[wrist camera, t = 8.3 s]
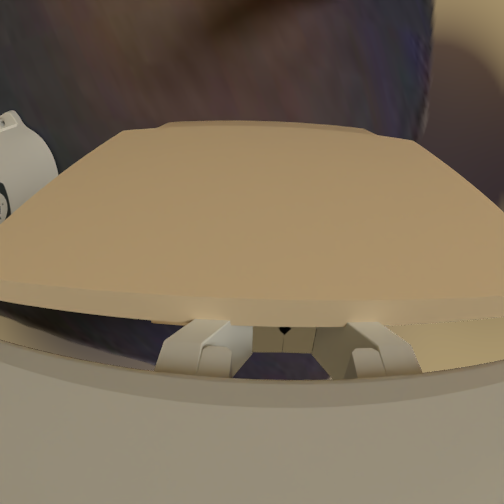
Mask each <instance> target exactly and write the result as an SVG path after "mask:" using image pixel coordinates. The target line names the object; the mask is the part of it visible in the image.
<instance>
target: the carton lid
mask: <svg viewBox="0 0 504 504" xmlns="http://www.w3.org/2000/svg"><path fill="white" fill-rule="evenodd" d="M0 301H6V302H11V303H17V304H23V305H30V306H36V307H42V308H49V309H56V310H63V311H71V312H78V313H86V314H95V315H103V316H113V317H122V318H132V319H143V320H155V321H167V322H181V323H190V322H191V321H193V320H194V319H208V320H228V321H230V323H231V325H236V326H266V327H345V326H346V324H347V323H348V322H379V323H381V324H382V325H384V326H390V325H412V324H428V323H443V322H456V321H468V320H479V319H488V318H497V317H504V212H503V211H502V210H501V209H499V208H498V207H497V206H496V205H495V204H494V203H493V202H491V200H489V199H488V198H487V197H486V196H485V195H484V194H482V193H481V192H480V191H479V190H478V189H476V188H475V187H474V186H473V185H472V184H470V183H469V182H468V181H467V180H465V179H464V178H463V177H462V176H460V175H459V174H458V173H457V172H455V171H454V170H453V169H451V168H450V167H449V166H447V165H446V164H445V163H444V162H442V161H441V160H439V159H438V158H437V157H435V156H434V155H432V154H431V153H430V152H428V151H427V150H426V149H424V148H423V147H421V146H420V145H419V144H417V143H416V142H414V141H412V140H405V139H399V138H392V137H385V136H378V135H370V134H362V133H353V132H343V131H333V130H321V129H307V128H291V127H268V126H190V127H167V128H151V129H137V130H126V131H122V132H120V133H119V134H117V135H116V136H114V137H113V138H111V139H109V140H108V141H106V142H105V143H103V144H102V145H100V146H99V147H97V148H96V149H94V150H93V151H92V152H90V153H89V154H87V155H86V156H84V157H83V158H82V159H80V160H79V161H77V162H76V163H75V164H73V165H72V166H70V167H69V168H68V169H66V170H65V171H64V172H62V173H61V174H60V175H58V176H57V177H56V178H55V179H53V180H52V181H51V182H49V183H48V184H47V185H46V186H44V187H43V188H42V189H41V190H39V191H38V192H37V193H36V194H34V195H33V196H32V197H31V198H30V199H28V200H27V201H26V202H25V203H24V204H23V205H21V206H20V207H19V208H18V209H17V210H16V211H15V212H13V213H12V214H11V215H10V216H9V217H8V218H7V219H6V220H5V221H3V222H2V223H1V224H0Z"/></svg>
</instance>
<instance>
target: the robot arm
mask: <svg viewBox="0 0 504 504" xmlns="http://www.w3.org/2000/svg"><path fill="white" fill-rule="evenodd" d="M4 122H5V125H4ZM57 176H58V171H57V167H56V163H55V160H54V158H53V155H52V153H51V151H50V149H49V148H48V146H47V145H46V143H45V142H44V141H43V139H42V138H41V137H40V136H39V135H38V134H36V133H35V132H34V131H32V130H31V129H29V128H28V127H26V126H25V125H24V124H23V122H22V120H21V119H20V117H19V116H18V114H17V113H16V112H15V111H13V110H11V111H8V112H6V113H4V114H2V115H1V116H0V224H1V223H2V222H3V221H5V220H6V219H7V218H8V217H9V216H10V215H11V214H12V213H13V212H15V211H16V210H17V209H18V208H19V207H20V206H21V205H23V204H24V203H25V202H26V201H27V200H28V199H30V198H31V197H32V196H33V195H34V194H36V193H37V192H38V191H39V190H41V189H42V188H43V187H44V186H46V185H47V184H48V183H49V182H51V181H52V180H53V179H55V178H56V177H57ZM252 352H289V353H312V355H313V356H314V358H315V359H316V360H317V361H318V362H319V364H320V365H321V366H322V367H323V368H324V369H325V371H326V372H327V373H328V374H329V375H330V376H331V378H332V380H259V379H236V378H233V376H234V375H235V373H236V372H237V371H238V370H239V369H240V368H241V366H242V365H243V364H244V363H245V362H246V360H247V359H248V358H249V357H250V356H251V354H252ZM0 504H504V360H500V361H495V362H490V363H484V364H479V365H474V366H468V367H461V368H455V369H448V370H441V371H434V372H426V373H422V370H421V368H420V365H419V364H418V361H417V358H416V356H415V354H414V351H413V349H412V347H411V345H410V344H409V343H407V342H406V341H405V340H403V339H402V338H400V337H399V336H398V335H396V334H395V333H393V332H392V331H391V330H389V329H388V328H386V327H385V326H384V325H382V324H381V323H379V322H348V323H347V324H346V326H345V327H266V326H236V325H231V323H230V321H228V320H208V319H194V320H193V321H191V322H190V323H188V324H187V325H186V326H184V327H183V328H181V329H180V330H179V331H177V332H176V333H174V334H173V335H172V336H170V337H169V338H167V339H166V340H165V341H164V343H163V346H162V349H161V352H160V355H159V358H158V360H157V363H156V366H155V369H154V371H149V370H141V369H134V368H128V367H121V366H115V365H109V364H103V363H97V362H92V361H86V360H81V359H76V358H72V357H67V356H62V355H58V354H53V353H49V352H45V351H40V350H36V349H33V348H29V347H25V346H21V345H17V344H14V343H10V342H6V341H3V340H0Z"/></svg>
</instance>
